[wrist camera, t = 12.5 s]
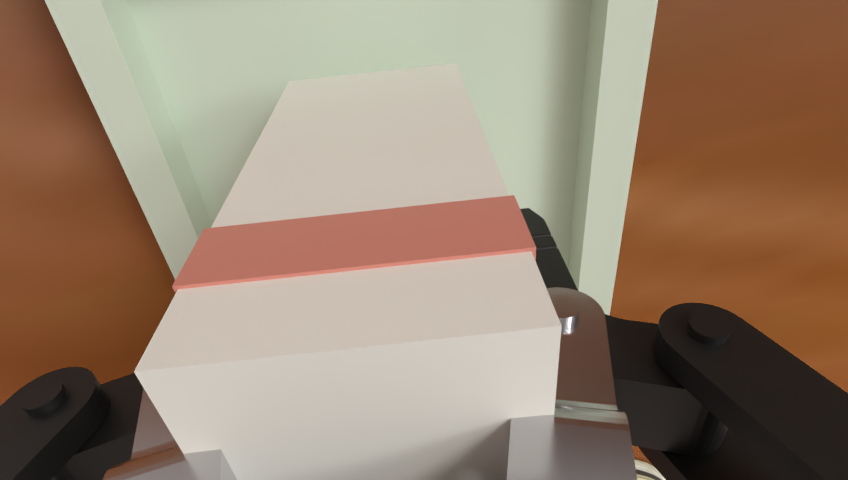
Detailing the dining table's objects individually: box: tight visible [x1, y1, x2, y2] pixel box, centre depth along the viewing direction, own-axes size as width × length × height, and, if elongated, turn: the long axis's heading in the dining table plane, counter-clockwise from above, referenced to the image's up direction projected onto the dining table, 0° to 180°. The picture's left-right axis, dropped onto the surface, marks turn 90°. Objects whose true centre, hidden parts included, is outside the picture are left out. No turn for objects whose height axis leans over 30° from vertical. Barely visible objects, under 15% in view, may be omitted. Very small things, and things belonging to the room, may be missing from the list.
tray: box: [45, 0, 658, 316], centre depth 15 cm, size 14×14×2 cm
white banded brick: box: [134, 63, 562, 480], centre depth 10 cm, size 4×6×9 cm
